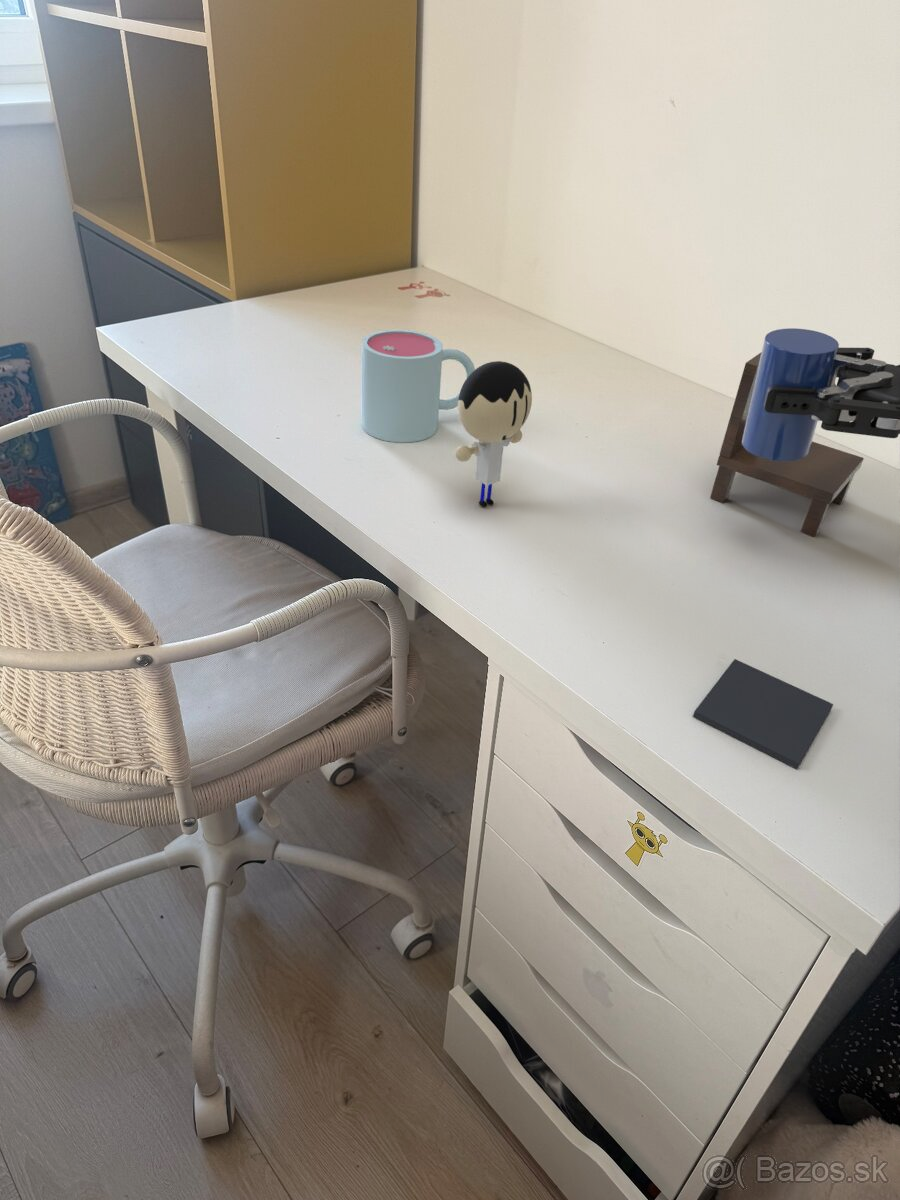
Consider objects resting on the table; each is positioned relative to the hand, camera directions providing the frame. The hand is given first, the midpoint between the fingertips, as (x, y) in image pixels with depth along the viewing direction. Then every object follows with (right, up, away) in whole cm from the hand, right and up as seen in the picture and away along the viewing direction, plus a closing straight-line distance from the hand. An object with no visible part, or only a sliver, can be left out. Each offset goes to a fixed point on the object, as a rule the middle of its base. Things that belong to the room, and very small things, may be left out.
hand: (762, 383), depth 74 cm
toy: (-24, -9, +12) cm, 29 cm away
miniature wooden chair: (+8, -8, +17) cm, 21 cm away
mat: (-4, -28, -10) cm, 30 cm away
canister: (+2, -5, +3) cm, 6 cm away
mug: (-32, +2, +27) cm, 42 cm away
